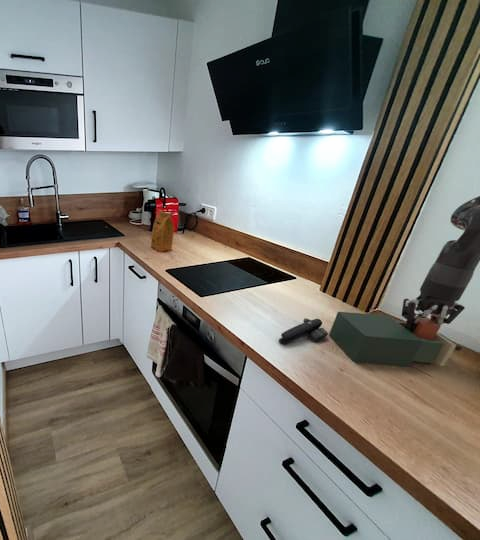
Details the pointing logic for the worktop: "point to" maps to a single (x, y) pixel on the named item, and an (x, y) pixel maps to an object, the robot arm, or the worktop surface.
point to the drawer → (435, 349)
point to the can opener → (304, 331)
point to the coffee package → (162, 232)
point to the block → (426, 329)
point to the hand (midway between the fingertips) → (418, 332)
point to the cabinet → (374, 339)
